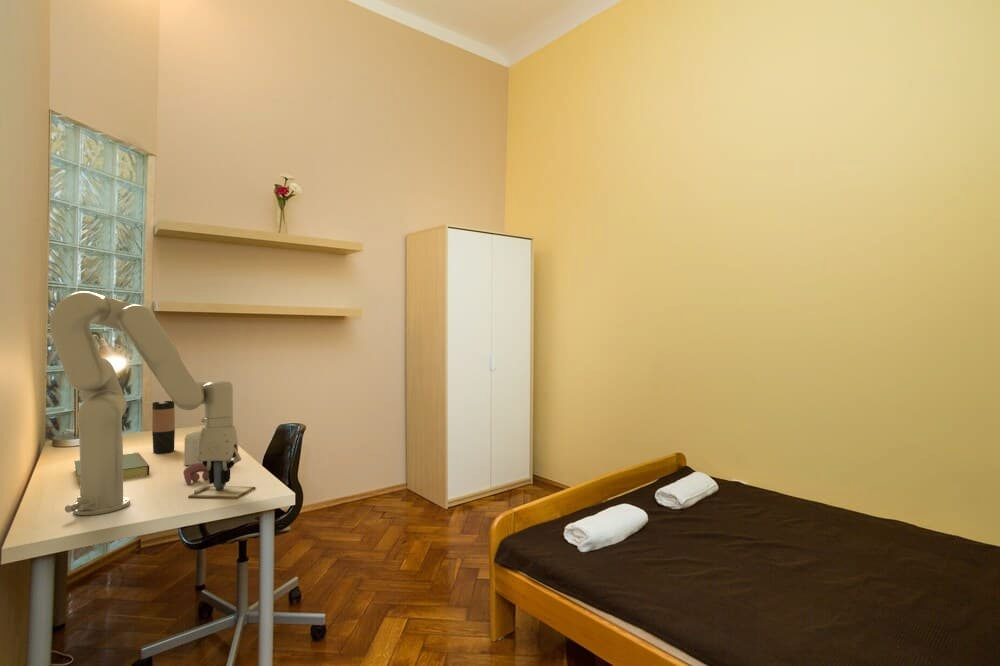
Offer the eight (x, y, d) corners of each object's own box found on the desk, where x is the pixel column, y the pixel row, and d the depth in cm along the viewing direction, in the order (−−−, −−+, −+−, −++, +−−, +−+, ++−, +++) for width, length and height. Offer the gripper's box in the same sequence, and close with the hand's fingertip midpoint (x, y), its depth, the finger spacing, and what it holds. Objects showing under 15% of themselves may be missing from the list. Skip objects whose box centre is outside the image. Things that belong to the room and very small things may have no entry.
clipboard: (237, 499, 153) (237, 494, 153) (188, 497, 154) (188, 493, 154) (255, 488, 163) (255, 484, 163) (209, 487, 164) (209, 483, 164)
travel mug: (167, 453, 207) (166, 403, 207) (147, 453, 207) (147, 403, 207) (179, 449, 215) (178, 400, 215) (160, 449, 215) (160, 400, 215)
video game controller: (217, 481, 175) (213, 461, 178) (221, 478, 173) (217, 457, 175) (183, 488, 168) (180, 467, 170) (187, 484, 165) (184, 463, 168)
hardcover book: (149, 476, 178) (149, 465, 178) (78, 487, 166) (78, 475, 166) (138, 462, 197) (138, 452, 197) (74, 471, 184) (74, 460, 184)
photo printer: (217, 461, 196) (216, 428, 196) (215, 463, 192) (215, 430, 192) (185, 463, 192) (185, 430, 192) (183, 466, 188) (183, 432, 188)
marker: (221, 490, 157) (221, 454, 157) (210, 490, 158) (210, 454, 158) (228, 487, 161) (228, 451, 161) (217, 487, 161) (217, 451, 161)
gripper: (185, 424, 156) (185, 485, 156) (238, 424, 155) (238, 486, 155) (200, 419, 163) (201, 478, 163) (251, 420, 162) (252, 479, 162)
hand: (219, 481), depth 159 cm, fingers closed on marker, 3 cm apart
